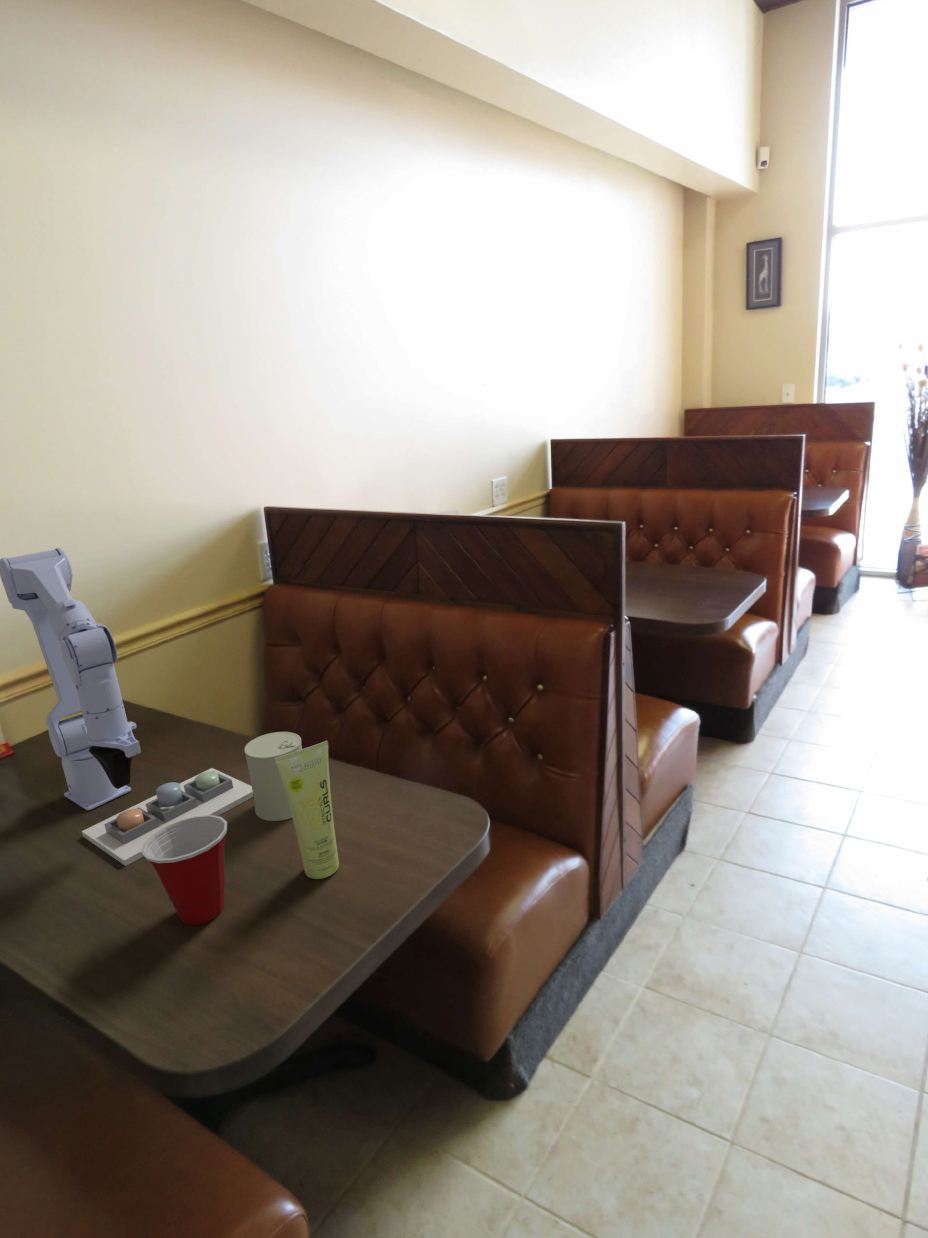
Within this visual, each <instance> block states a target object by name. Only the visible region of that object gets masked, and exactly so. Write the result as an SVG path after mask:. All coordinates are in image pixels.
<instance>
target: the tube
mask: <svg viewBox="0 0 928 1238" xmlns="http://www.w3.org/2000/svg"><path fill="white" fill-rule="evenodd" d="M275 762H276V765H277V767H278V770H279V773H280V776H281V779H282V782H283V785H284V789H285V792H286V796H287V799H288V803H289V807H290V810H291V814H292V818H291V819H292V823H293V826H294V830H295V834H296V838H297V839H296V840H297V842H298V847H299V851H300V856H301V861H302V866H303V869H304V873H305V875H306V876H307V877H308V878H310V879H312V880H322V879H325V878H328V877H330V876H332V875H334V874H335V873H336V872H337V871H338V869H339V866H340V861H339V854H338V847H337V839H336V831H335V824H334V823H335V822H334V814H333V806H332V805H333V804H332V797H331V796H332V793H331V780H330V770H329V768H330V766H329V742H328V740H325V741H322V742H320V743H317V744H314V745H311V746H307V747H304V748H302V749H301V750H298V751H295V752H292V753H289V754H286V755H283V756H280V757H277V758H275Z"/></svg>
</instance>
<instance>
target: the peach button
mask: <svg viewBox="0 0 928 1238" xmlns="http://www.w3.org/2000/svg"><path fill="white" fill-rule="evenodd" d="M128 809H129V808H128ZM125 810H126V811H124V810H123V811H124V812H122V811H121V812H122V813H120V812H119V813H120V814H119V815H118V816H117V818H116V820H117V823H118V827H119V830H121V831H122V832H126V831H128V830H130V829H132V828H134V827H136V826H138V825H140V824H142V823H144V818H143V814H142V811H141V810H140V809H129V810H127V809H125Z"/></svg>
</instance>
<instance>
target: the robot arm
mask: <svg viewBox="0 0 928 1238" xmlns="http://www.w3.org/2000/svg"><path fill="white" fill-rule="evenodd" d="M0 579H1V582H2V585H3V588H4V591H5V595H6V597H7V599H8V602H9V603H10V604H11V607H12V609H14V610H21V611H24V612H25V613H26V615H27V617H28V618H29V620H30V621H31V625H32V626H33V627H32V628H33V629H34V632H35V636H36V638H37V641H38V644H39V648H40V650H41V653H42V656H43V658H44V661H45V664H46V665H45V666H46V668H47V671H48V675H49V676H50V679H51V683H52V686H53V689H54V691H55V695H56V698H57V700H58V701H57V702H56V704H55V705H54V706H53V707H52V708H51V709H50V711H49V712H48V713H47V716H46V719H45V724H46V726H47V728H48V729H47V730H48V736H49V740H50V743H51V745H52V749H53V750H54V752H55V754H56V756H57V757H59V758H61V766H62V770H63V772H64V777H65V781H66V784H67V788H68V791H66V792H64V794H63V796H64V797H66V798H67V799H68V800H70V801H71V802H73V803H75V804H76V805H78V806H79V807H80V808H82V809H84V810H86V811H91V810H93V809H96V808H98V807H99V806H102V805H104V804H106V803H107V802H109V801H112V800H114V799H117V798H118V797H120V796H123V795H125V794H127V793H129V792H130V791H131V792H132V788H131V787H130V786H128V785H129V784H130V783H131V772H132V771H131V769H132V768H131V767H132V761H133V757H134V756H136V755H138V754H141V753H142V750H141V746H140V741H139V740H138V739H136V738H135V736H134V734H133V733H134V732H133V730H135V729H137V723H135V722H134V721H128V718H127V715H126V713H127V712H126V711H125V710H126V709H125V706H124V705H125V704H124V702H123V698H122V693H121V692H122V691H121V687H120V685H119V679H118V676H117V670H116V667H115V664H114V663H116V662H117V661H118V652H117V647H116V643H115V640H114V638H113V635H112V633H111V632H110V629H109V628H108V627H107V625H105V624H102V623H101V622H100V623H98V622H96V620H95V618H94V617H93V615H92V613H90V611H89V609H88V608H87V606H86V604H85V603H83V602H82V601H81V600H78V599H73V597H72V594H71V590H72V582H73V581H72V580H73V569H72V565H71V561H70V559H69V556H68V555H67V553H66V551H65V550H64V549H62V548H60V547H56V548H54V549H51V550H46V551H45V550H44V551H39V552H34V553H29V554H24V555H17V556H13V557H8V558H6V557H2V558H0ZM113 662H114V663H113ZM77 713H81V714H79V715H78V714H77ZM75 714H77V715H75ZM72 715H75V716H72ZM69 716H72V717H69ZM66 717H68V718H66ZM63 718H66V719H63ZM61 719H63V720H61Z"/></svg>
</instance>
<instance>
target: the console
mask: <svg viewBox="0 0 928 1238" xmlns="http://www.w3.org/2000/svg"><path fill="white" fill-rule="evenodd" d="M210 771H213V772H217V773H218V777H219V782H220V784H218V785H216V786H214V787H213V788H211V789H209V790H207V791H205V792H202V791H200V790H198V789H197V786H196V781H195V778H196V777H197V776H198V775H200V774H202V773H205V772H210ZM179 784H180V788H181V792H182V797H183V799H182V801H181V802H180V803H178V804H176V805H174V806H171V807H161V806H159V803H158V799H157V795H156V794H155V795H153V796H151V797H149V798H147V799H145V800H143V801H141V802H139V803H137V804H136V805H135V804H134V805H132V806H131V807H128V808H126V809H125V810H123V811H121V812H118V813H116V814H115V815H111V816H110V817H108V818H106V819H105V820H102V821H100V822H98V823H96V824H93V825H92V826H90V827H88V828H86V829H84V830H82V831H81V834H82V837H83V838H85V839H86V840H87V841H89V842H91V843H92V844H93V845H95V846H96V847H97V848H99V849H100V850H102V851H103V852H104V853H106V854H107V855H109V856H110V857H112V858H114V859H115V860H116V861H118V862H119V863H120V864H121V865H123V866H125V867H127V866H129V865H130V864H132V863H135V862H136V861H138V860H140V859H141V858H143V857H145V856H144V855H143V854H142V852H141V851H142V847H143V844H144V843H145V841H146V840H147V839H148V838H149V837H150V836H151V835H152V834H154V833H155V832H157V831H158V830H160V829H162V828H163V827H165V826H167V825H170V824H172V823H174V822H177V821H179V820H182V819H186V818H190V817H194V816H203V815H213V816H219V817H220V816H221V815H222V814H224V813H226V812H227V811H230V810H231V809H233V808H235V807H237V806H239V805H241V804H242V803H244V802H247V801H248V800H250V799H252V798H254V796H253V791H252V785H251V784H248V783H245V782H244V781H241V780H240V779H237V778H234V777H233V776H231V775H228V774H226V773H224V772H222V771H220V770H217V769H216V768H214V767H211V768H208V769H206V770H204V771H203V772H201V773H198V774H197V775H194V776H193V777H190V778H188V779H186V780H184V781H182V782H180V783H179ZM129 809H140V810H141V811H142V814H143V818H144V823H142V824H140V825H138V826H136V827H134V828H132V829H130V830H128V831H126V832H122V831H121V830H119V827H118V823H117V820H116V818H117V816H118V815H119V814H120V813H122V812H124V811H126V810H129Z"/></svg>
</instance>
